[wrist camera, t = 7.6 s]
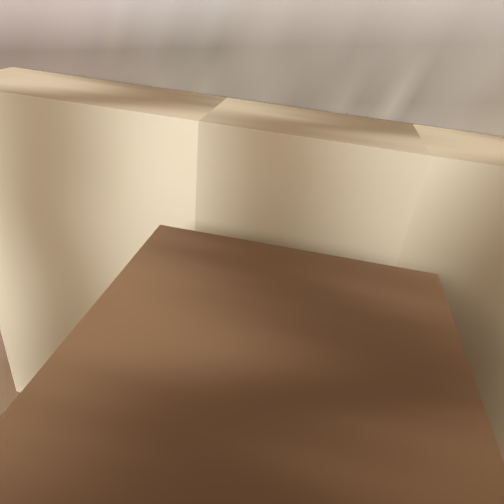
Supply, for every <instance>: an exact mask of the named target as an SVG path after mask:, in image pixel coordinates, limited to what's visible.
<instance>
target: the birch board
mask: <svg viewBox="0 0 504 504" xmlns="http://www.w3.org/2000/svg"><path fill="white" fill-rule="evenodd" d="M159 225H165V226H170V227H176V228H182V229H187V230H193V231H198V232H204V233H210V234H215V235H221V236H226V237H232V238H238V239H243V240H249V241H254V242H260V243H266V244H271V245H277V246H282V247H288V248H294V249H299V250H305V251H310V252H316V253H322V254H327V255H333V256H338V257H344V258H350V259H355V260H361V261H366V262H372V263H378V264H383V265H389V266H394V267H400V268H406V269H411V270H417V271H423V272H428V273H434V274H438V277H439V279H440V282H441V285H442V288H443V291H444V294H445V297H446V299H447V302H448V305H449V308H450V311H451V314H452V317H453V319H454V322H455V325H456V328H457V331H458V334H459V337H460V339H461V342H462V345H463V348H464V351H465V354H466V357H467V359H468V362H469V365H470V368H471V371H472V374H473V377H474V379H475V382H476V385H477V388H478V391H479V394H480V397H481V399H482V402H483V405H484V408H485V411H486V414H487V417H488V419H489V422H490V425H491V428H492V431H493V434H494V437H495V439H496V442H497V445H498V448H499V451H500V454H501V457H502V459H503V462H504V137H500V136H493V135H486V134H479V133H472V132H465V131H458V130H451V129H444V128H437V127H430V126H423V125H416V124H409V123H402V122H395V121H388V120H381V119H374V118H367V117H360V116H353V115H346V114H339V113H332V112H325V111H318V110H311V109H304V108H297V107H290V106H283V105H276V104H269V103H262V102H255V101H248V100H241V99H234V98H227V97H220V96H213V95H205V94H198V93H191V92H184V91H177V90H170V89H163V88H156V87H149V86H142V85H135V84H128V83H121V82H114V81H107V80H100V79H93V78H86V77H79V76H72V75H65V74H58V73H51V72H44V71H37V70H30V69H23V68H16V67H10V68H5V69H0V330H1V334H2V337H3V341H4V345H5V349H6V353H7V357H8V360H9V364H10V368H11V372H12V376H13V379H14V383H15V387H16V391H18V392H22V390H23V389H24V388H25V387H26V386H27V384H28V383H29V382H30V381H31V380H32V378H33V377H34V376H35V375H36V373H37V372H38V371H39V370H40V369H41V367H42V366H43V365H44V364H45V363H46V361H47V360H48V359H49V358H50V357H51V355H52V354H53V353H54V352H55V351H56V349H57V348H58V347H59V346H60V345H61V343H62V342H63V341H64V340H65V339H66V337H67V336H68V335H69V334H70V333H71V331H72V330H73V329H74V328H75V326H76V325H77V324H78V323H79V322H80V320H81V319H82V318H83V317H84V316H85V314H86V313H87V312H88V311H89V310H90V308H91V307H92V306H93V305H94V304H95V302H96V301H97V300H98V299H99V298H100V296H101V295H102V294H103V293H104V292H105V290H106V289H107V288H108V287H109V285H110V284H111V283H112V282H113V281H114V279H115V278H116V277H117V276H118V275H119V273H120V272H121V271H122V270H123V269H124V267H125V266H126V265H127V264H128V263H129V261H130V260H131V259H132V258H133V257H134V255H135V254H136V253H137V252H138V251H139V249H140V248H141V247H142V246H143V244H144V243H145V242H146V241H147V240H148V238H149V237H150V236H151V235H152V234H153V232H154V231H155V230H156V229H157V228H158V226H159Z"/></svg>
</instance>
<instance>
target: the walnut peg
mask: <svg viewBox="0 0 504 504" xmlns="http://www.w3.org/2000/svg"><path fill="white" fill-rule="evenodd" d="M0 504H504V462H503V459H502V457H501V454H500V451H499V448H498V445H497V442H496V439H495V437H494V434H493V431H492V428H491V425H490V422H489V419H488V417H487V414H486V411H485V408H484V405H483V402H482V399H481V397H480V394H479V391H478V388H477V385H476V382H475V379H474V377H473V374H472V371H471V368H470V365H469V362H468V359H467V357H466V354H465V351H464V348H463V345H462V342H461V339H460V337H459V334H458V331H457V328H456V325H455V322H454V319H453V317H452V314H451V311H450V308H449V305H448V302H447V299H446V297H445V294H444V291H443V288H442V285H441V282H440V279H439V277H438V274H434V273H428V272H423V271H417V270H411V269H406V268H400V267H394V266H389V265H383V264H378V263H372V262H366V261H361V260H355V259H350V258H344V257H338V256H333V255H327V254H322V253H316V252H310V251H305V250H299V249H294V248H288V247H282V246H277V245H271V244H266V243H260V242H254V241H249V240H243V239H238V238H232V237H226V236H221V235H215V234H210V233H204V232H198V231H193V230H187V229H182V228H176V227H170V226H165V225H159V226H158V228H157V229H156V230H155V231H154V232H153V234H152V235H151V236H150V237H149V238H148V240H147V241H146V242H145V243H144V244H143V246H142V247H141V248H140V249H139V251H138V252H137V253H136V254H135V255H134V257H133V258H132V259H131V260H130V261H129V263H128V264H127V265H126V266H125V267H124V269H123V270H122V271H121V272H120V273H119V275H118V276H117V277H116V278H115V279H114V281H113V282H112V283H111V284H110V285H109V287H108V288H107V289H106V290H105V292H104V293H103V294H102V295H101V296H100V298H99V299H98V300H97V301H96V302H95V304H94V305H93V306H92V307H91V308H90V310H89V311H88V312H87V313H86V314H85V316H84V317H83V318H82V319H81V320H80V322H79V323H78V324H77V325H76V326H75V328H74V329H73V330H72V331H71V333H70V334H69V335H68V336H67V337H66V339H65V340H64V341H63V342H62V343H61V345H60V346H59V347H58V348H57V349H56V351H55V352H54V353H53V354H52V355H51V357H50V358H49V359H48V360H47V361H46V363H45V364H44V365H43V366H42V367H41V369H40V370H39V371H38V372H37V373H36V375H35V376H34V377H33V378H32V380H31V381H30V382H29V383H28V384H27V386H26V387H25V388H24V389H23V390H22V392H21V393H20V394H19V395H18V396H17V398H16V399H15V400H14V401H13V402H12V404H11V405H10V406H9V407H8V408H7V410H6V411H5V412H4V413H3V414H2V416H1V417H0Z"/></svg>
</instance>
